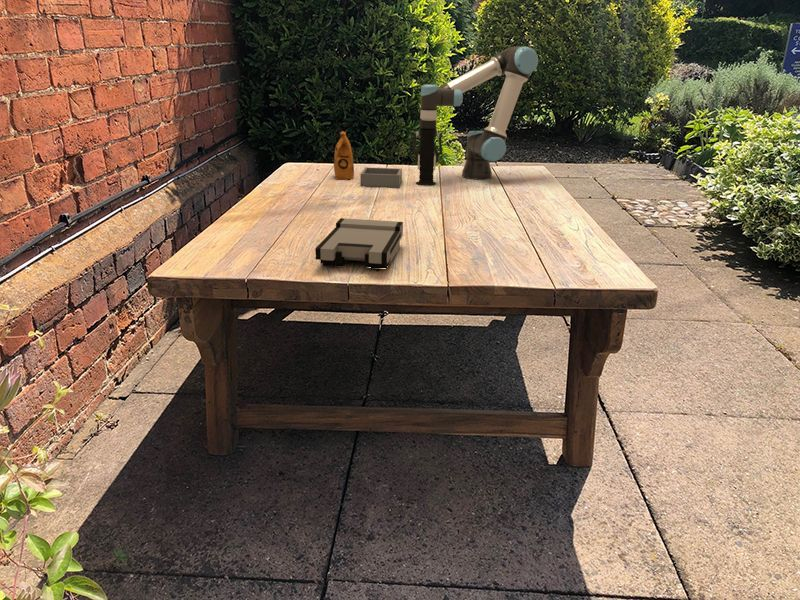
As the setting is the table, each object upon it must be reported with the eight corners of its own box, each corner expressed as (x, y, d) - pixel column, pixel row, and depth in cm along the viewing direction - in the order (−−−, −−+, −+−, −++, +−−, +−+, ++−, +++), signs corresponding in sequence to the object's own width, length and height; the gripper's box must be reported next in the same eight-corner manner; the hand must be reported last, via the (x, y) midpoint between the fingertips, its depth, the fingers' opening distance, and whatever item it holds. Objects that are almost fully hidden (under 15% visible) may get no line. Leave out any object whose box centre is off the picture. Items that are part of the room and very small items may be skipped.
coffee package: (332, 180, 328) (332, 133, 320) (334, 175, 340) (333, 130, 332) (353, 180, 328) (353, 134, 321) (354, 175, 340) (354, 131, 332)
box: (401, 181, 329) (402, 168, 327) (399, 188, 313) (399, 175, 311) (365, 179, 331) (365, 167, 328) (360, 186, 314) (360, 173, 312)
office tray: (315, 271, 196) (315, 244, 193) (340, 242, 226) (340, 218, 223) (386, 276, 193) (387, 248, 190) (402, 246, 223) (403, 221, 220)
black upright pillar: (430, 181, 330) (412, 182, 326) (432, 125, 321) (413, 126, 317) (440, 185, 322) (421, 186, 318) (442, 128, 313) (423, 128, 309)
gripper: (449, 119, 316) (447, 168, 325) (407, 118, 318) (406, 167, 326) (449, 120, 309) (447, 171, 317) (406, 119, 311) (405, 169, 319)
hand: (426, 169), depth 322 cm, fingers closed on black upright pillar, 7 cm apart
